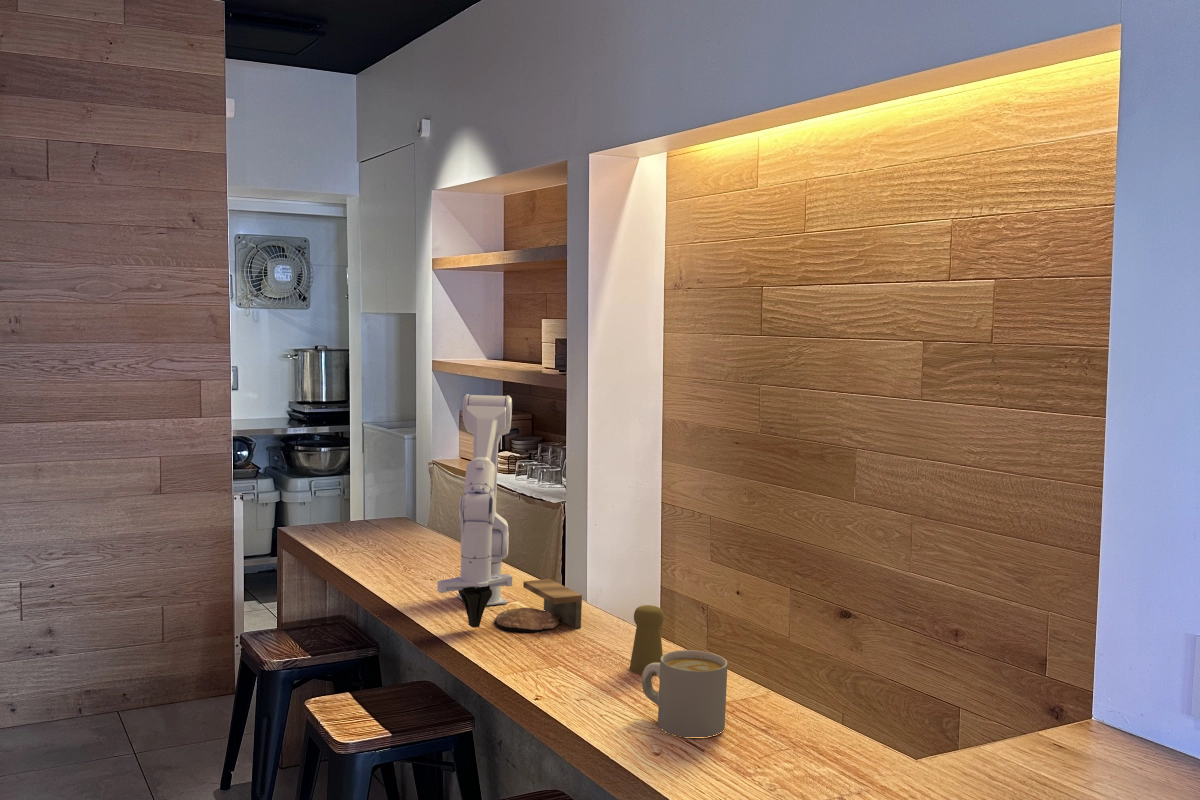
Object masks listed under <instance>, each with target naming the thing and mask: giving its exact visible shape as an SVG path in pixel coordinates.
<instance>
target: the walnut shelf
mask: <svg viewBox="0 0 1200 800" xmlns="http://www.w3.org/2000/svg"><path fill="white" fill-rule="evenodd" d="M522 583H523V585H522V586H523V587H522V588H524V589H525V590H528V591H530V592H531V593H533V594H535V595H536V596H539V597H540V598H542V599H543V611H544V610H545V611H548V612H550V613H551V614H555V615H558V616H559V617H560V620H559V621H561V620H562V621H561V622H563V621H564V622H563V623H565V622H566V623H567V625H568V624H569V625H568V626H570V627H571V628H574V629H581V628H582V606H583V605H582V604H583V599H582V598H583V594H580V593H579V592H576V591H574V590H573V589H570V588H569V587H566V586H565V585H563V584H561V583H559V582H557V581H554V580H553V579H551V578H546V579H536V580H534V579H533V580H526V581H525V580H524V581H523V582H522ZM566 623H565V624H566Z"/></svg>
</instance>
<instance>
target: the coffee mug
mask: <svg viewBox="0 0 1200 800" xmlns="http://www.w3.org/2000/svg"><path fill="white" fill-rule="evenodd" d="M653 673H657V674H656V675H657V676H658V679H659V687H658V691H656V690H655V688H654V687H653V682H652V681H653V680H652V677H653V675H652V674H653ZM727 683H728V661H727V659H725V658H724V657H723V656H721V655H718V654H716V653H712V652H708V651H704V650H703V651H702V650H695V649H694V650H693V649H685V650H682V649H681V650H674V651H669V652H666V653H663V656H662V657H661V660H660V663H651V664H649V665H647V666H646V667H645V669H644V671H643V675H642V674H641V686H642V691H643V693H644V695H645V697H646V698H648V699H649V701H651V702H652V703H654V704H655V705H656V706H657V707H658V711H657V713H658V714H657V726H659V727H660V728H661V729H663V730H664V731H666V732H667V733H670V734H673V735H676V736H681V737H708V736H713V735H716V734H718V733H720V732H722V731H723V730H724V728H725V729H726V711H727V710H726V707H727V704H726V703H727V686H728V684H727ZM659 727H658V728H659ZM660 728H659V729H660ZM661 729H660V730H661ZM664 731H663V732H664ZM724 731H725V730H724ZM667 733H666V734H667ZM670 734H669V735H670ZM676 736H675V737H676Z"/></svg>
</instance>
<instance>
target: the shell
mask: <svg viewBox="0 0 1200 800" xmlns="http://www.w3.org/2000/svg"><path fill="white" fill-rule="evenodd" d="M560 621H561V620H560V617H559V616H558V615H555V614H551V613H550V612H548V611H544V609H542V610H541V609H537V608H534V607H519V608H510V609H506V610H504V611H501V612H499V613H498V614H497V615H496V617H495V618H494V624H495V623H496V624H495V625H496V626H497V628H500V629H501V630H504V631H507V632H515V631H516V632H519V633H526V632H527V633H531V634H538V633H537V632H540V633H543V632H542V631H545V632H550V631H549V630H551V629H553V630H555V629H556V628H558V627H559V624H560ZM555 627H556V628H555ZM554 628H555V629H554ZM551 631H552V630H551Z"/></svg>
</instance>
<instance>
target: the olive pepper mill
mask: <svg viewBox="0 0 1200 800" xmlns="http://www.w3.org/2000/svg"><path fill="white" fill-rule="evenodd" d="M633 613H634V614H633V621H634V623H635V625H636V628H635V635H634V640H633V645H632V652H631V656H630V663H629V669H628V670H629V671H630V672H632V673H634V674H638V675H641V676H642V675H643V671H644V669H645V667H646V666H647V665H649V664H651V663H660V660H661V657H662V656H663V655H664V653H663V642H662V633H661V632H662V630H661V626H662V625H663V623H664V619H665V614H664V611H663V609H662V608H660V607H659V606H656V605H650V604H649V605H647V604H646V605H640V606H638V607H636V608H635V610H634V612H633ZM654 674H656V675H658V674H657V673H653V674H652V676H654Z"/></svg>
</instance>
